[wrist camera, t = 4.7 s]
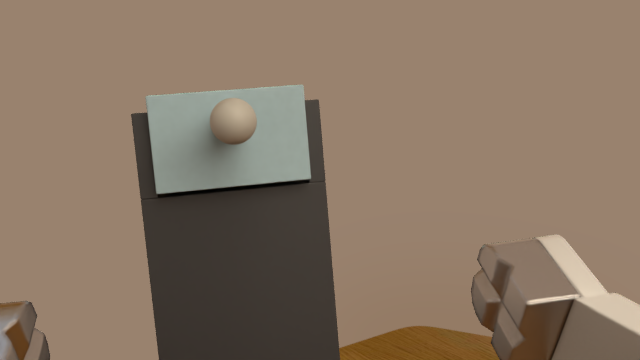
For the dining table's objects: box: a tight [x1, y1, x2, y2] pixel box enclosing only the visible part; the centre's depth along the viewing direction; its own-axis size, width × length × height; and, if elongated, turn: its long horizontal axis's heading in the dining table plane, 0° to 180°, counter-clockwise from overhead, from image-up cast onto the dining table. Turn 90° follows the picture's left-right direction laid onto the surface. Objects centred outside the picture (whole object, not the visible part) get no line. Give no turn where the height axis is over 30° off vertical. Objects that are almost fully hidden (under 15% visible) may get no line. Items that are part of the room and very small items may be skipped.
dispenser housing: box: [131, 100, 340, 360], centre depth 42 cm, size 11×11×26 cm
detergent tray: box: [146, 85, 311, 194], centre depth 34 cm, size 9×20×6 cm, turn 10°
